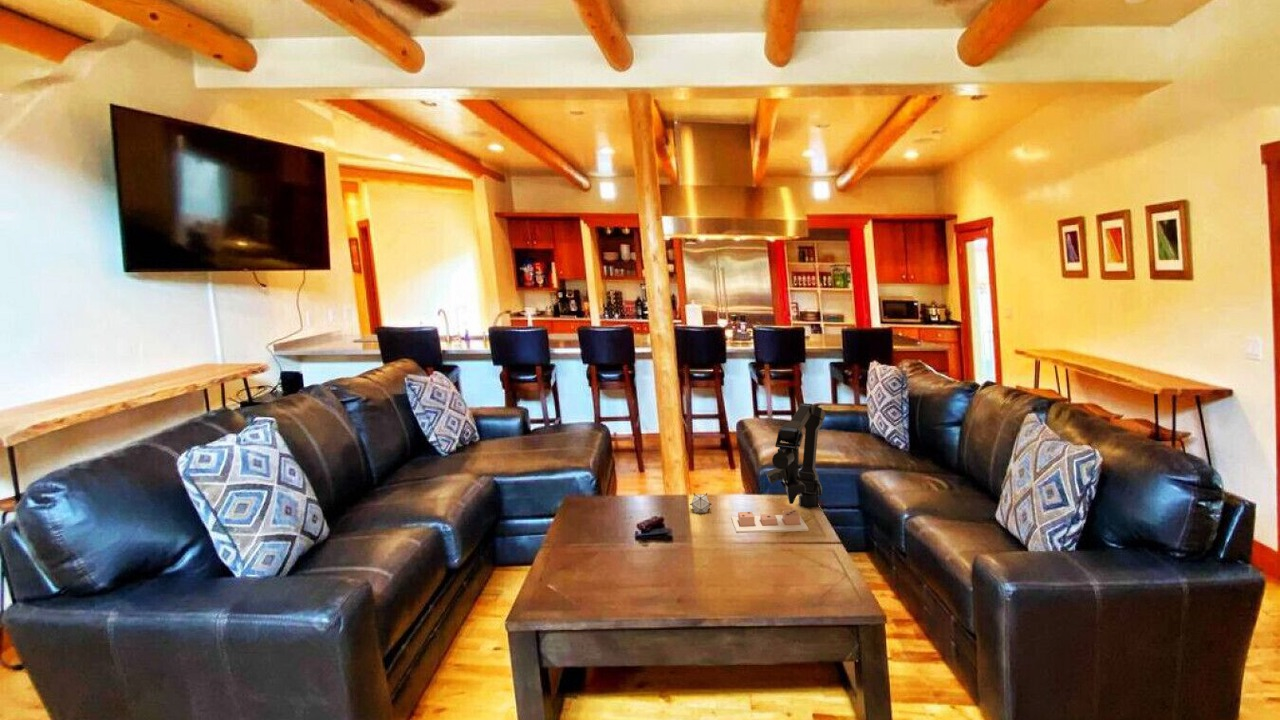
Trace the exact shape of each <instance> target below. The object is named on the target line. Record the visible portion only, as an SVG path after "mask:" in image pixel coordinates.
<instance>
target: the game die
mask: <svg viewBox="0 0 1280 720" xmlns="http://www.w3.org/2000/svg"><path fill="white" fill-rule="evenodd" d="M693 495H694V496H693V498H692V501H691V503H690V504H689V505H690V506H691V507H692V510H693V512H694V513H696V514H704V513H705V514H707V513H708V512H709V509H710V506H711V505H712V503H711V502H710V501H709V497H708V492H706V493H705V494H696V493H695V492H694V493H693Z"/></svg>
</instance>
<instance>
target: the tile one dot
mask: <svg viewBox="0 0 1280 720" xmlns="http://www.w3.org/2000/svg"><path fill="white" fill-rule="evenodd" d="M775 515H776V514H774V513H763V514H761V513H760V515H759V516H760V522H761V525H762V526H777V518H776V516H775Z"/></svg>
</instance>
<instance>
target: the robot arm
mask: <svg viewBox="0 0 1280 720" xmlns="http://www.w3.org/2000/svg"><path fill="white" fill-rule="evenodd" d="M825 418H826V411H825V410H824V409H823V407H819V406H817V405H815V404H813V403H805V402H802V403H799V405H798V409H797V410H796V412H795V413H794V415H793V417H792V418H791V419H790V421H788V422H784V423H783V425H781V427H780V428H779V429H778V432H777V437H776V442H775V445H774V447H775V448H778V449H777V452H775V454H773V456H772V458H771V462H772V464H773V466H774V467H775V468H772V469H770V470H767V471H766V472H765V475H766V476H767V479H768V482H769V483H770V484H771V485H773V484H775V483H776V482H779V481H780V484H781V485H782V487H783V488H784V489H785V492H786V496H787V499H788V503H789V504H790V505H792V504H794V502H795V500H796V498H797V496H798V505H799V507H800V508H807V509H814V508H818V507H819V496H822V495H823V485H822V484H821V482H820V480H819V479H820V476H819V474H818V472H817V469H816V461H817V460H816V458H817V449H818V448H817V446H818V434H819V431H820V429H821V428H822V426H823V425H824V420H825ZM803 428H804V430H805V432H804V434H803ZM803 438H804V444H803V445H804V446H803V456H802V457H803V458H802V466H801V464H800V449H799V448H800V447H801V444H802V441H803ZM781 480H782V481H781ZM798 494H799V495H798Z"/></svg>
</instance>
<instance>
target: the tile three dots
mask: <svg viewBox="0 0 1280 720" xmlns="http://www.w3.org/2000/svg"><path fill="white" fill-rule="evenodd" d="M782 515H783V523H784V525H800V516H801V515H800V513H799V512H798V510H796V509H791V510H790V509H788V510H787V509H785V510H782Z"/></svg>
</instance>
